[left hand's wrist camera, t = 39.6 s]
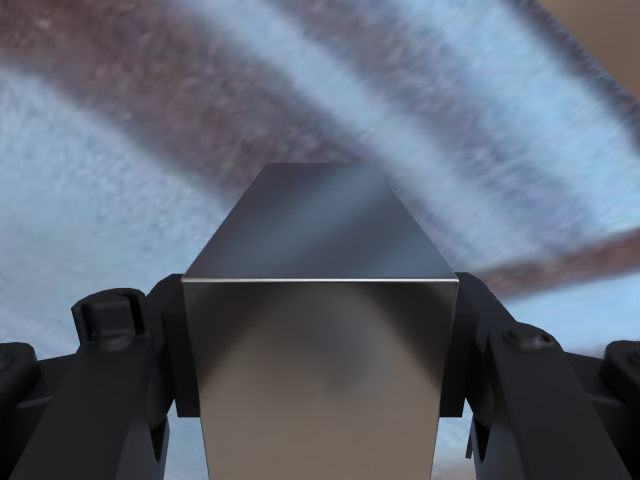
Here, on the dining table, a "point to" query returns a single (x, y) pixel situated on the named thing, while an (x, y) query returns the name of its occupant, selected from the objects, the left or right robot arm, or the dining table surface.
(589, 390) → the left robot arm
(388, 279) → the block
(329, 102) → the dining table surface
